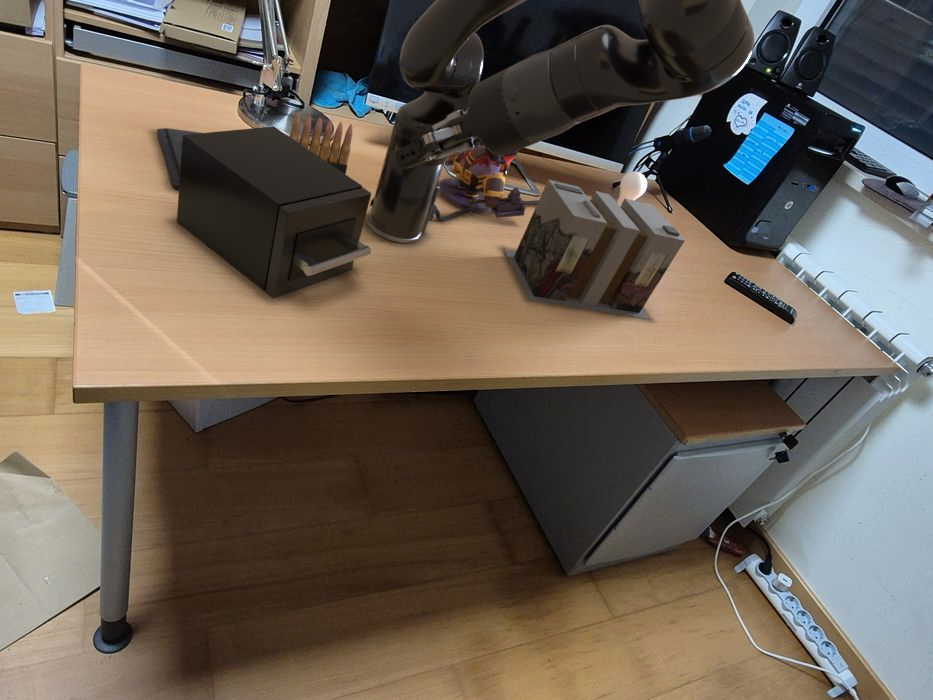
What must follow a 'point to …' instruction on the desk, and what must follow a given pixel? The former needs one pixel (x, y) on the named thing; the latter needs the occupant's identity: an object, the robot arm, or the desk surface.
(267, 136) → the oven
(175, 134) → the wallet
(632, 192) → the lightbulb
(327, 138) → the ammunition clip
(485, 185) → the figurine
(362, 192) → the oven door
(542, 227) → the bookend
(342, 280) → the desk surface
